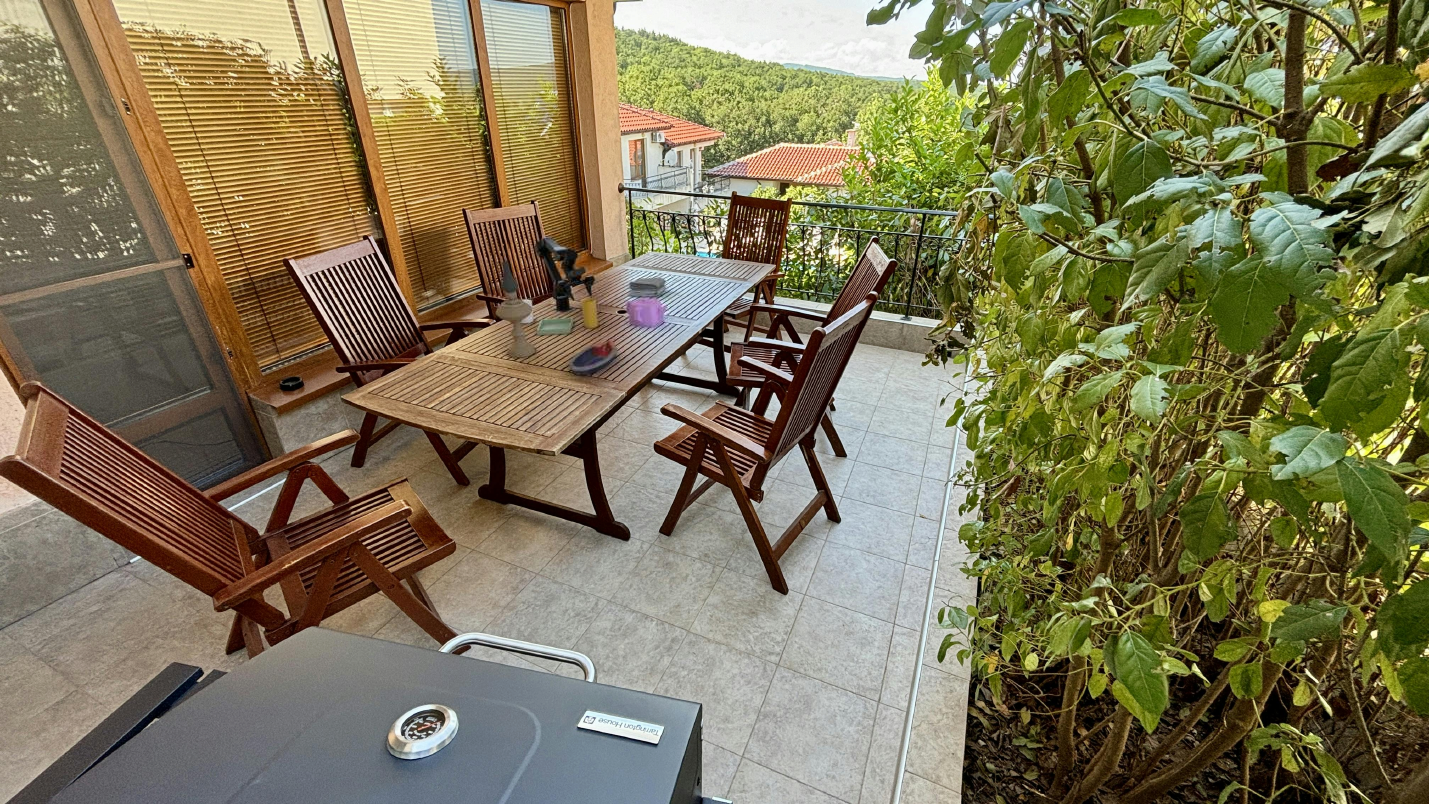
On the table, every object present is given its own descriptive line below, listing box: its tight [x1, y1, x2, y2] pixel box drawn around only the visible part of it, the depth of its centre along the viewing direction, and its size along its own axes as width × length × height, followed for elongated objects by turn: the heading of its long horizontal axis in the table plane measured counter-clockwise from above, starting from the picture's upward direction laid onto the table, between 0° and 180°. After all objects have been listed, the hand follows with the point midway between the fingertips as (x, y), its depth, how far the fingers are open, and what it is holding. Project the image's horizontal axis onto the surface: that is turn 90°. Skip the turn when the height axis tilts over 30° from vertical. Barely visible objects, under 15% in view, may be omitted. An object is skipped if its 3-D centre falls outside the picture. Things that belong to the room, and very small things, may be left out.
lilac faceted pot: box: [625, 297, 668, 328], centre depth 291 cm, size 17×17×12 cm
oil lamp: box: [495, 260, 536, 358], centre depth 253 cm, size 15×15×40 cm
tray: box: [536, 317, 574, 336], centre depth 288 cm, size 15×15×2 cm
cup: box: [580, 297, 599, 329], centre depth 288 cm, size 7×7×13 cm
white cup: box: [521, 299, 535, 324], centre depth 297 cm, size 8×8×10 cm
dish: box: [568, 340, 618, 376], centre depth 248 cm, size 16×31×5 cm, turn 160°
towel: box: [628, 277, 667, 298], centre depth 336 cm, size 15×18×8 cm
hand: (582, 298), depth 290 cm, fingers open, 9 cm apart
